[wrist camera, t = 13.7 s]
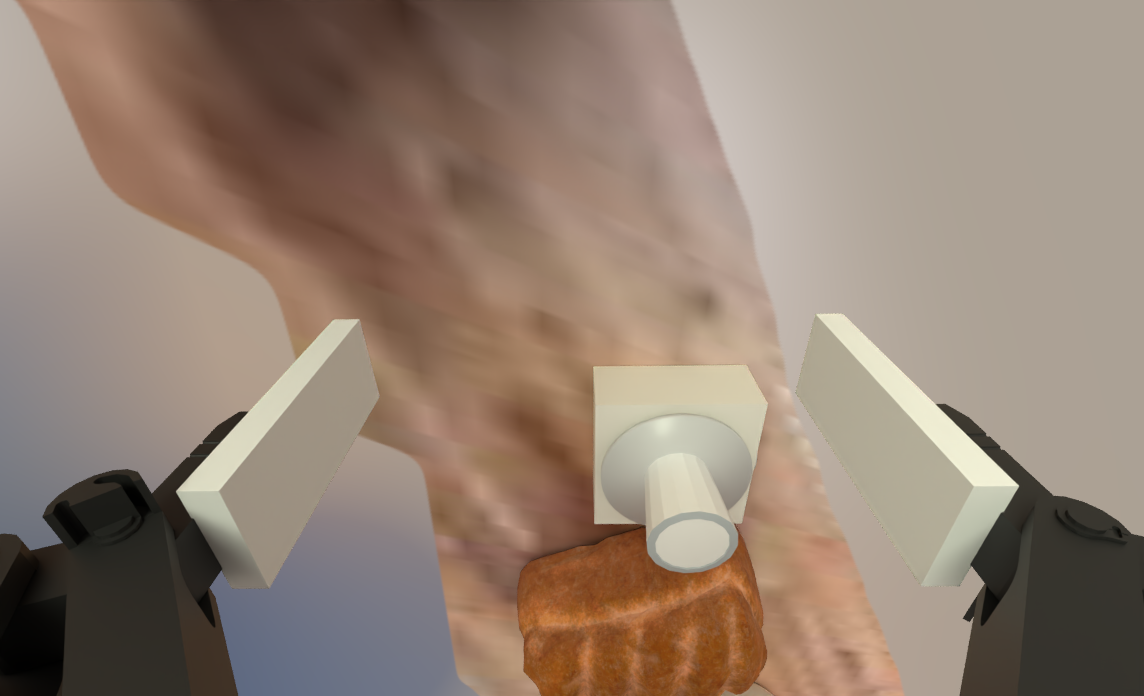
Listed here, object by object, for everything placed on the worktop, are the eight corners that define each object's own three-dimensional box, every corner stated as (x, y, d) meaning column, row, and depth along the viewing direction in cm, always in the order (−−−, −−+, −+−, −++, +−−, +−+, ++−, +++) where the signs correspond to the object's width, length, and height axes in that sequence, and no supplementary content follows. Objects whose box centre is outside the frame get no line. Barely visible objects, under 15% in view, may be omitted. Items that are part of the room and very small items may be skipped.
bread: (509, 557, 60) (489, 701, 46) (727, 497, 55) (776, 639, 41) (556, 622, 66) (551, 764, 53) (756, 573, 61) (806, 718, 47)
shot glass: (623, 490, 44) (630, 559, 38) (662, 436, 41) (676, 501, 35) (689, 514, 46) (706, 584, 40) (732, 463, 43) (758, 530, 37)
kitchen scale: (592, 478, 53) (594, 532, 47) (593, 366, 46) (595, 412, 40) (731, 477, 53) (751, 532, 47) (753, 364, 46) (779, 411, 40)
